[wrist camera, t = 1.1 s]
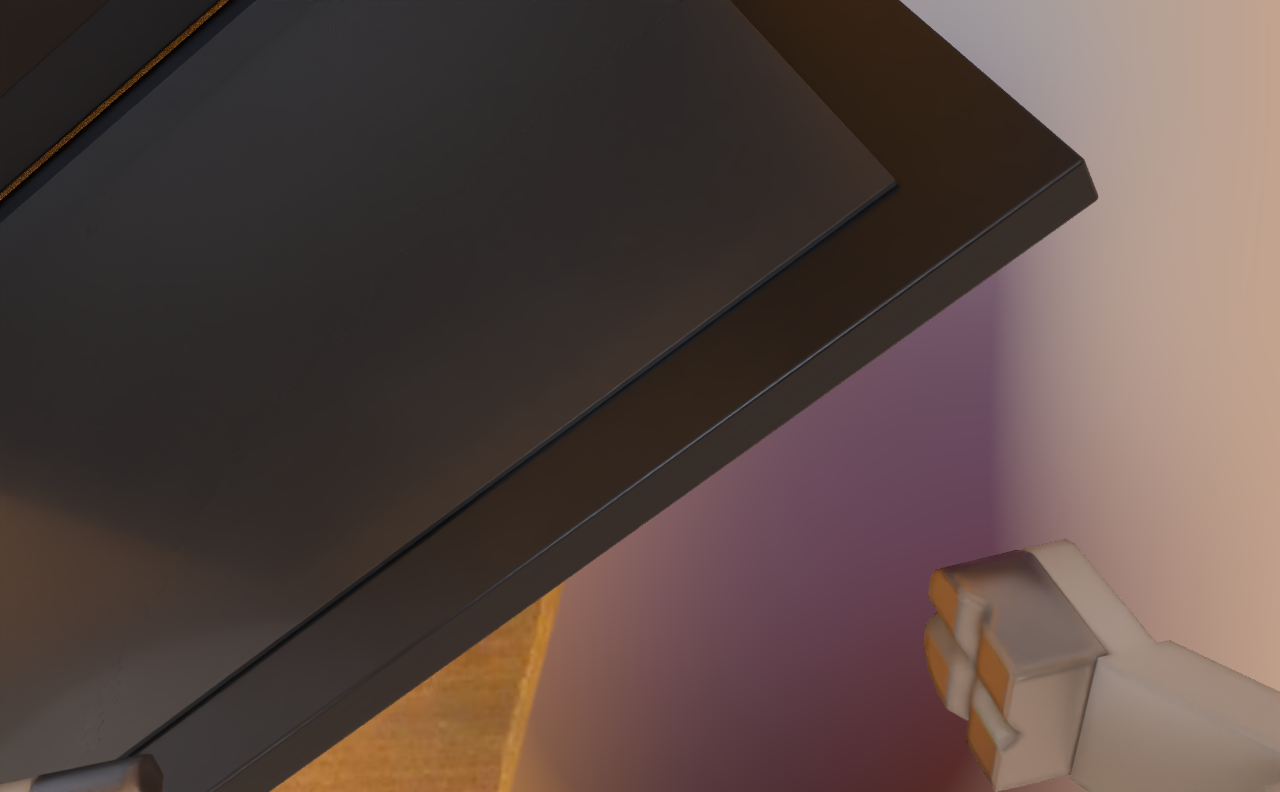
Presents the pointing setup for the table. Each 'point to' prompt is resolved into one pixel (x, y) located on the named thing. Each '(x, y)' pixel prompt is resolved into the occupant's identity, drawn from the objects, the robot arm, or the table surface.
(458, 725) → the table surface
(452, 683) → the table surface
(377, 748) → the table surface
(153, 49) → the laptop
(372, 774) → the table surface
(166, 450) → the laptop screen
